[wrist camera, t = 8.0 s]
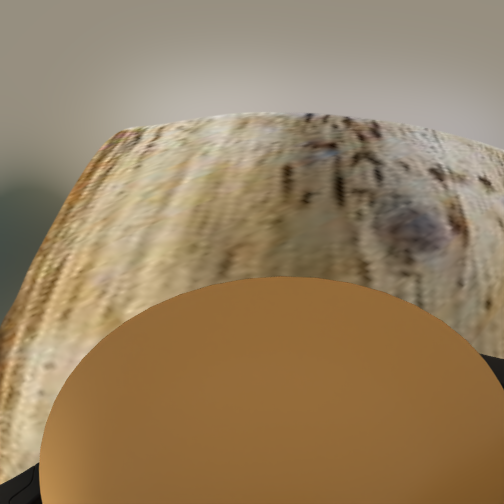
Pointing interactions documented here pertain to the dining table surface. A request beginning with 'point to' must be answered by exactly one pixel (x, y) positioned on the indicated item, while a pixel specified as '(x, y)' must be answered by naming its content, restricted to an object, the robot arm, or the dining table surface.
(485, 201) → the dining table surface
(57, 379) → the dining table surface
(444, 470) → the grey orange cylinder
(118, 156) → the dining table surface
